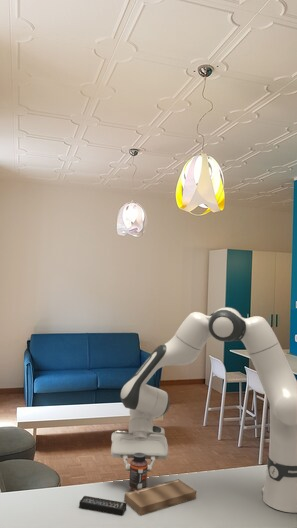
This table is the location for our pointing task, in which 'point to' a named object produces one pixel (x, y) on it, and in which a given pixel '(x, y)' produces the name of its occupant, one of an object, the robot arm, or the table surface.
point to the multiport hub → (103, 505)
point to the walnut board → (159, 496)
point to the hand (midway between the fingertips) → (138, 470)
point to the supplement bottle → (138, 472)
